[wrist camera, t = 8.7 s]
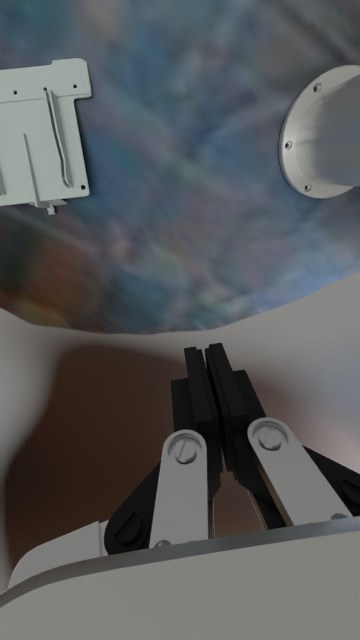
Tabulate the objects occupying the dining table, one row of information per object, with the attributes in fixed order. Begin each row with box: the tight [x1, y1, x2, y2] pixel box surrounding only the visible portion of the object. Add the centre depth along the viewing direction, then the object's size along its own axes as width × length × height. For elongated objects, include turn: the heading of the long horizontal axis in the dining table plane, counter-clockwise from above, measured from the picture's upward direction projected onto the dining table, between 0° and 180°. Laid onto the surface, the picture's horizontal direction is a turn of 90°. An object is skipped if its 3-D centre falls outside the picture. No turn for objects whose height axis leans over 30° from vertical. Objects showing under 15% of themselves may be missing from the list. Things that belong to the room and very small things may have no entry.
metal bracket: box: [0, 58, 92, 215], centre depth 29 cm, size 14×6×15 cm
